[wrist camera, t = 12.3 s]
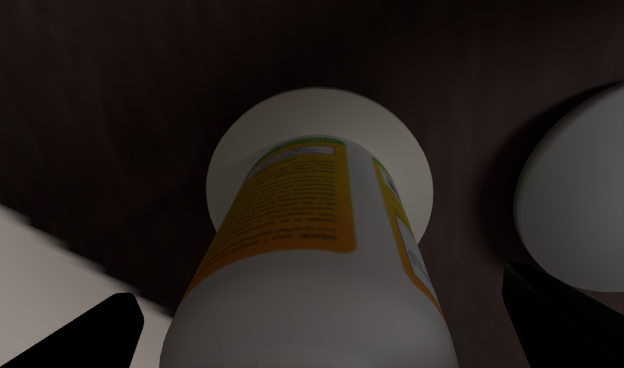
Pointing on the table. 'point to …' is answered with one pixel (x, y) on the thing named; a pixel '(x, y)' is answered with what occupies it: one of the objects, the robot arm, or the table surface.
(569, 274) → the dish
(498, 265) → the table surface
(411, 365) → the supplement bottle
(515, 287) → the robot arm
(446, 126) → the table surface
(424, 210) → the dish
